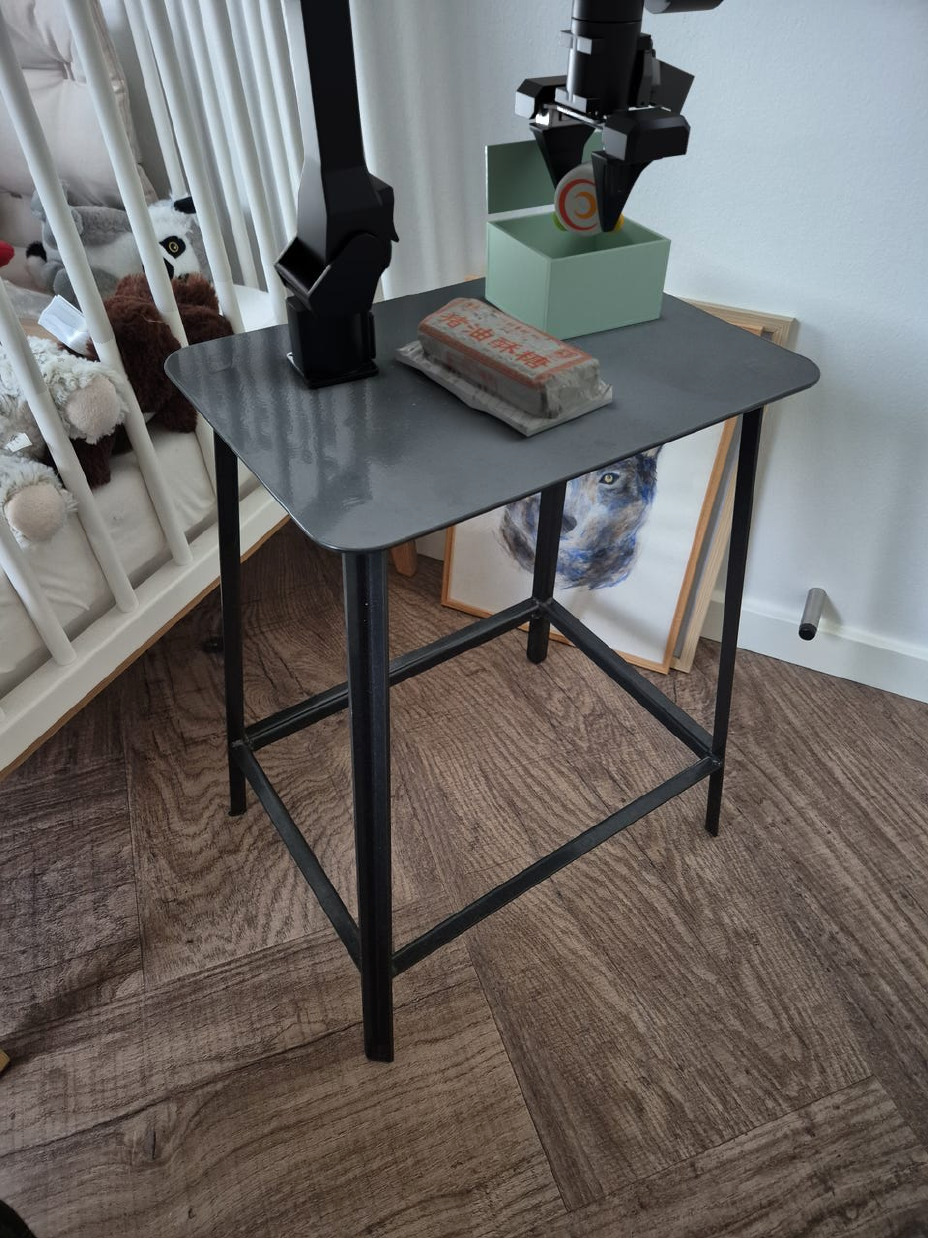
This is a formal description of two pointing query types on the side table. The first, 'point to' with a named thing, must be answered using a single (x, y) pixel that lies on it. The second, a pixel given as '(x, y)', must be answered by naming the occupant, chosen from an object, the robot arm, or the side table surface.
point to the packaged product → (506, 366)
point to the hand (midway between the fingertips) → (586, 220)
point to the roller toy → (579, 203)
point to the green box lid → (523, 174)
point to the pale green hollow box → (574, 275)
